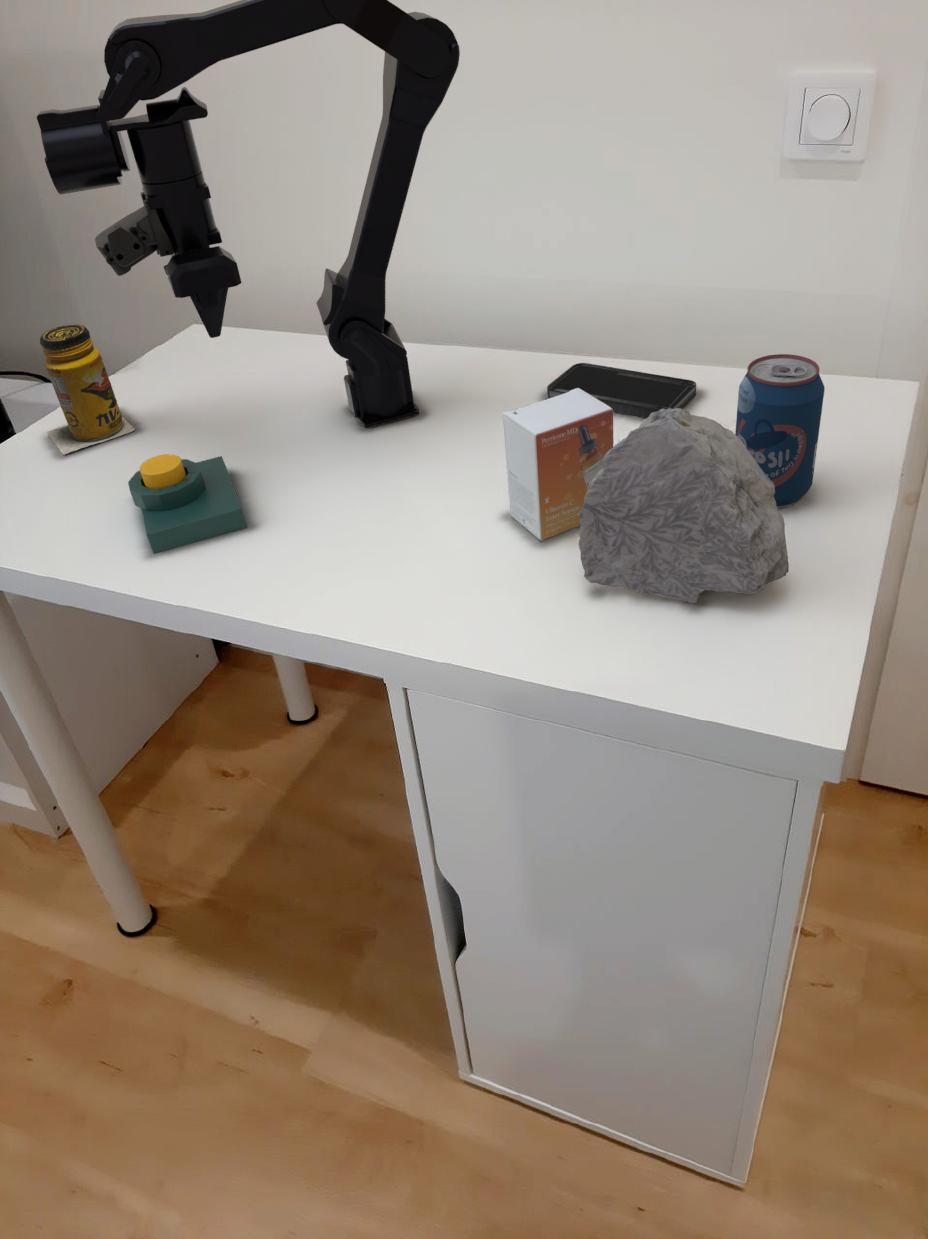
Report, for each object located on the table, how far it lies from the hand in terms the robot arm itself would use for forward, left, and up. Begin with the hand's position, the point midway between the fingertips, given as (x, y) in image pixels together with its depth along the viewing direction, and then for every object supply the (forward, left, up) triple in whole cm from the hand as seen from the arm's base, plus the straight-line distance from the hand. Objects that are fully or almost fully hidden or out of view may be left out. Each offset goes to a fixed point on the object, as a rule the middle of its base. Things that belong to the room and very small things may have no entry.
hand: (214, 336), depth 101 cm
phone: (-40, +13, -12) cm, 44 cm away
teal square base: (+7, +13, -12) cm, 19 cm away
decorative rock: (-28, +46, -12) cm, 55 cm away
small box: (-24, +32, -12) cm, 42 cm away
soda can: (-42, +38, -12) cm, 58 cm away
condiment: (+16, -12, -12) cm, 23 cm away
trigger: (+9, +12, -8) cm, 17 cm away
